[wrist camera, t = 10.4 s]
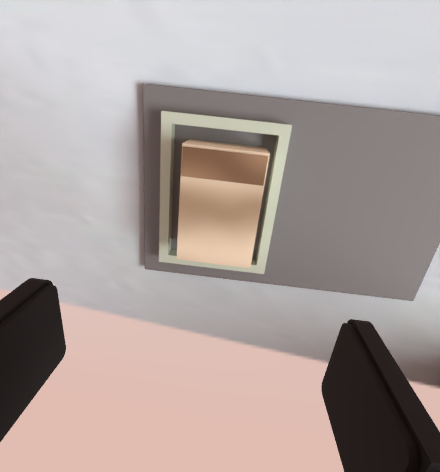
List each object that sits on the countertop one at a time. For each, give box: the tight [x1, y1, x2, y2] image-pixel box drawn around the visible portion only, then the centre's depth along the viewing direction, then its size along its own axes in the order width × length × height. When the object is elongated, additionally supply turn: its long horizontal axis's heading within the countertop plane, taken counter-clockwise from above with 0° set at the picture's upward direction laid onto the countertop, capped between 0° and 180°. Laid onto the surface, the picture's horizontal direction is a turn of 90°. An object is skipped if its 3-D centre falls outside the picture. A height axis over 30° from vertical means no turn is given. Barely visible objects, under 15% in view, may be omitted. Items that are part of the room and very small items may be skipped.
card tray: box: [159, 111, 292, 274], centre depth 24 cm, size 13×10×1 cm
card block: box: [177, 139, 270, 268], centre depth 22 cm, size 9×6×4 cm, turn 174°
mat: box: [143, 84, 440, 301], centre depth 24 cm, size 26×16×1 cm, turn 84°
